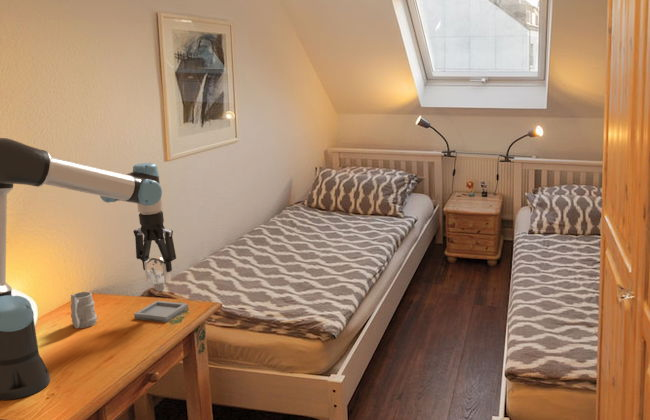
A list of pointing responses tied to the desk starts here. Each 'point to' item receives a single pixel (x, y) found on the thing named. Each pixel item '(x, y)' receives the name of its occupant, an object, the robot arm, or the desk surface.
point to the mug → (83, 310)
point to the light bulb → (156, 272)
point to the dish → (161, 311)
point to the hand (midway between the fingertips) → (158, 280)
